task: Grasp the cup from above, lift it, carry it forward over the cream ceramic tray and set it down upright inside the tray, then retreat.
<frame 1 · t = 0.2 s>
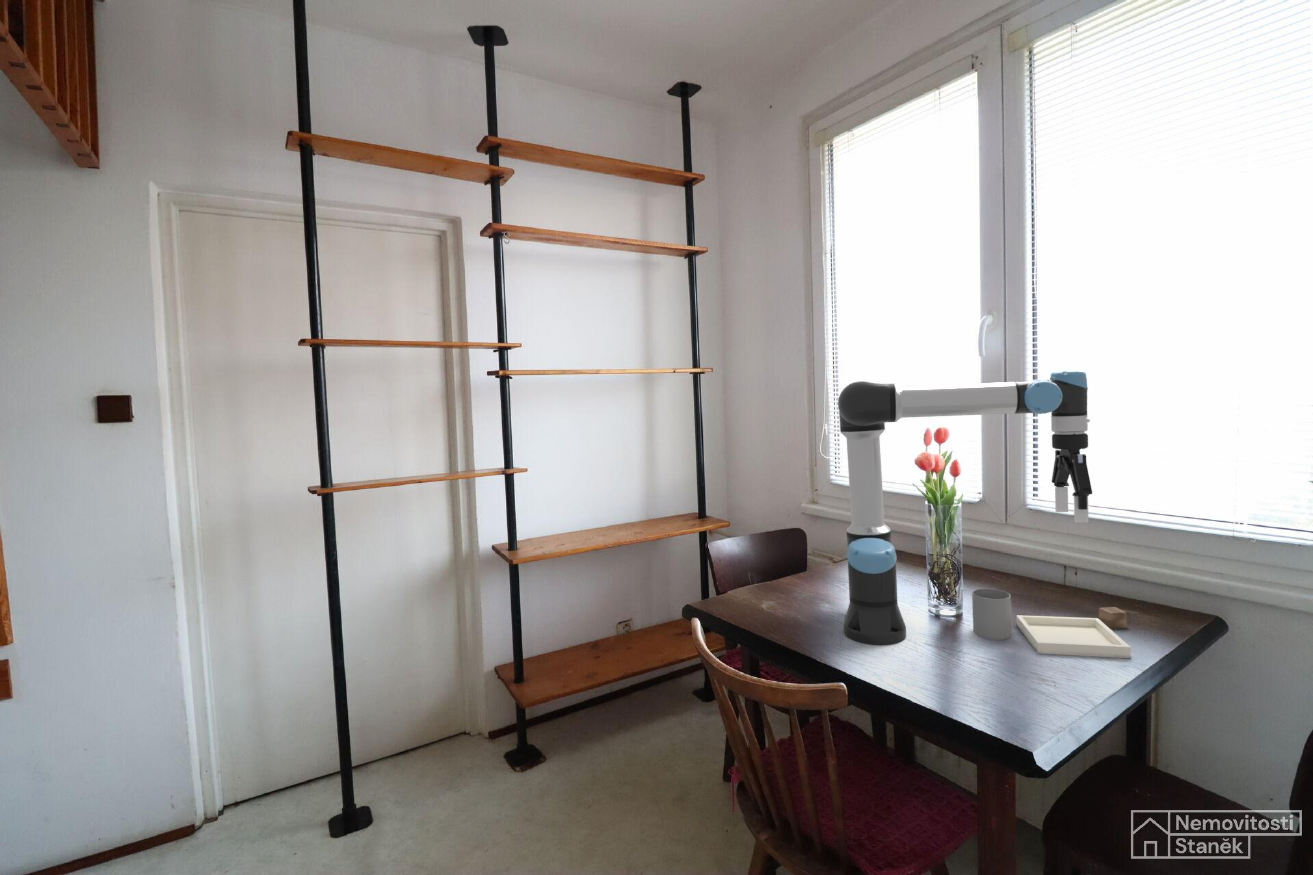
hand: (1071, 516, 155), 27 cm above the table, fingers open, 13 cm apart
cup: (992, 633, 154), on the table
walnut block: (1112, 625, 155), on the table
tray: (1069, 640, 147), on the table
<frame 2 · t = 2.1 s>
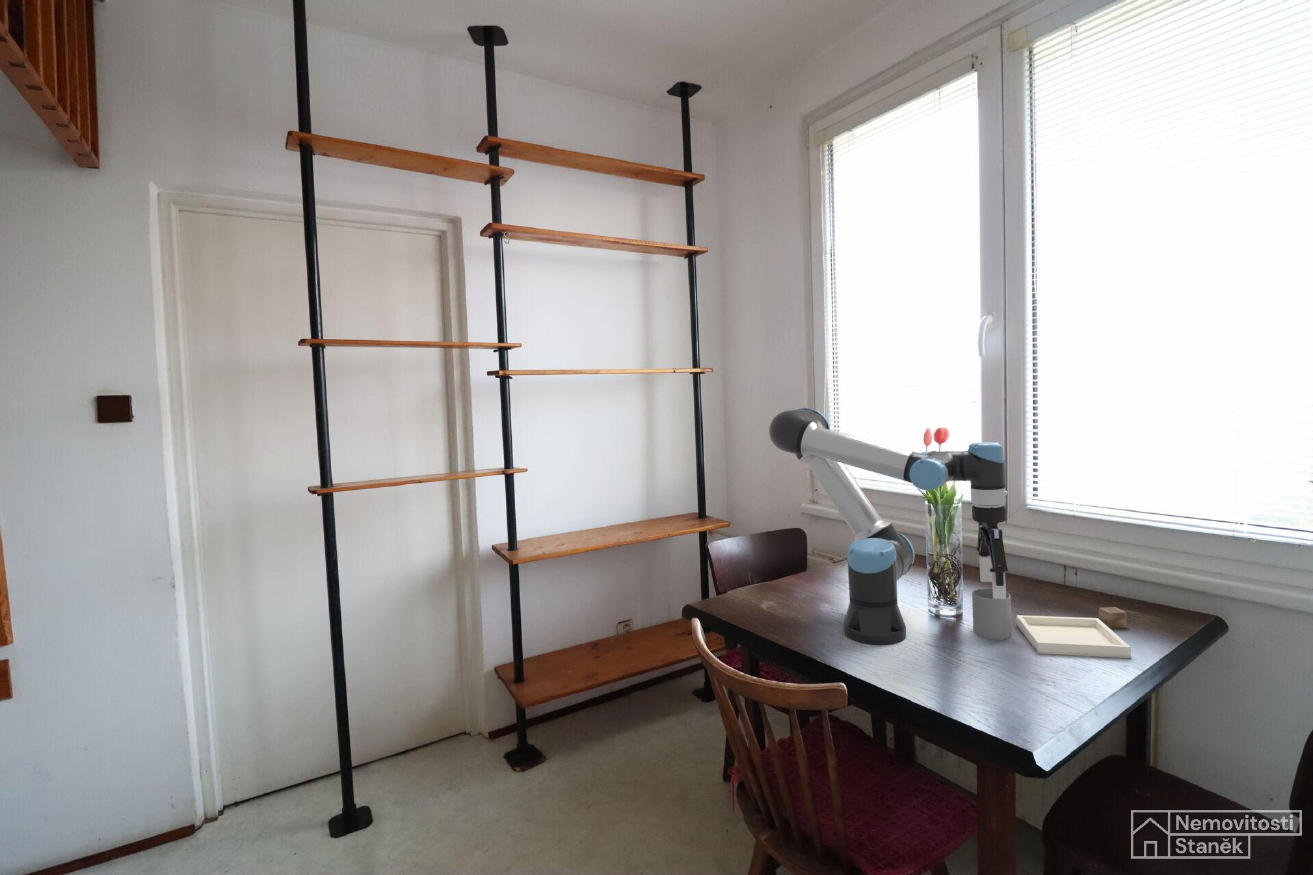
hand: (992, 589, 153), 11 cm above the table, fingers open, 13 cm apart
nothing on the table moved.
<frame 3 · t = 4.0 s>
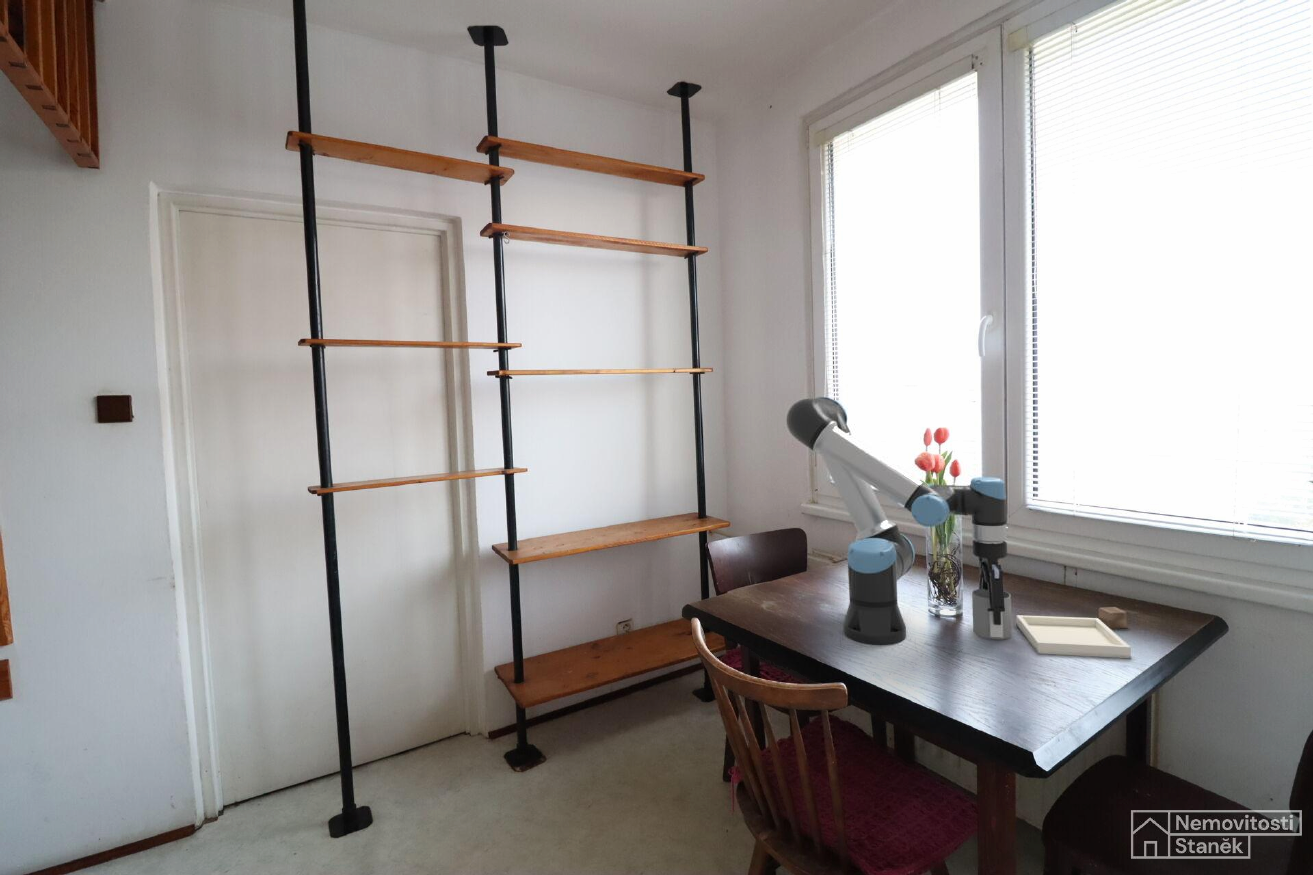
hand: (992, 629, 154), 1 cm above the table, fingers closed on cup, 8 cm apart
cup: (992, 633, 154), on the table, touching gripper
everything else where it was.
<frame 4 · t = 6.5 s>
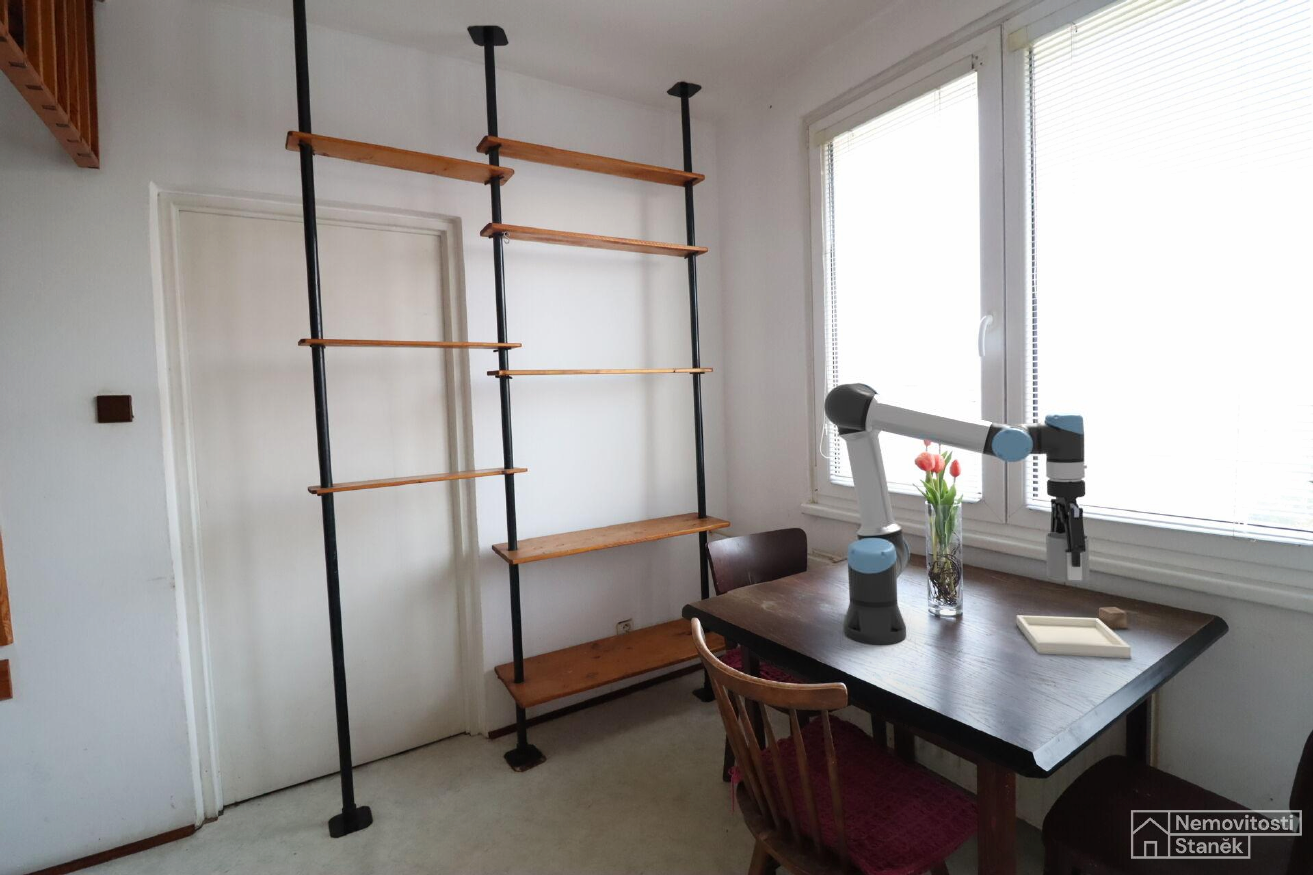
hand: (1067, 573, 146), 16 cm above the table, fingers closed on cup, 8 cm apart
cup: (1068, 578, 146), point 15 cm above the table, touching gripper
everything else where it was.
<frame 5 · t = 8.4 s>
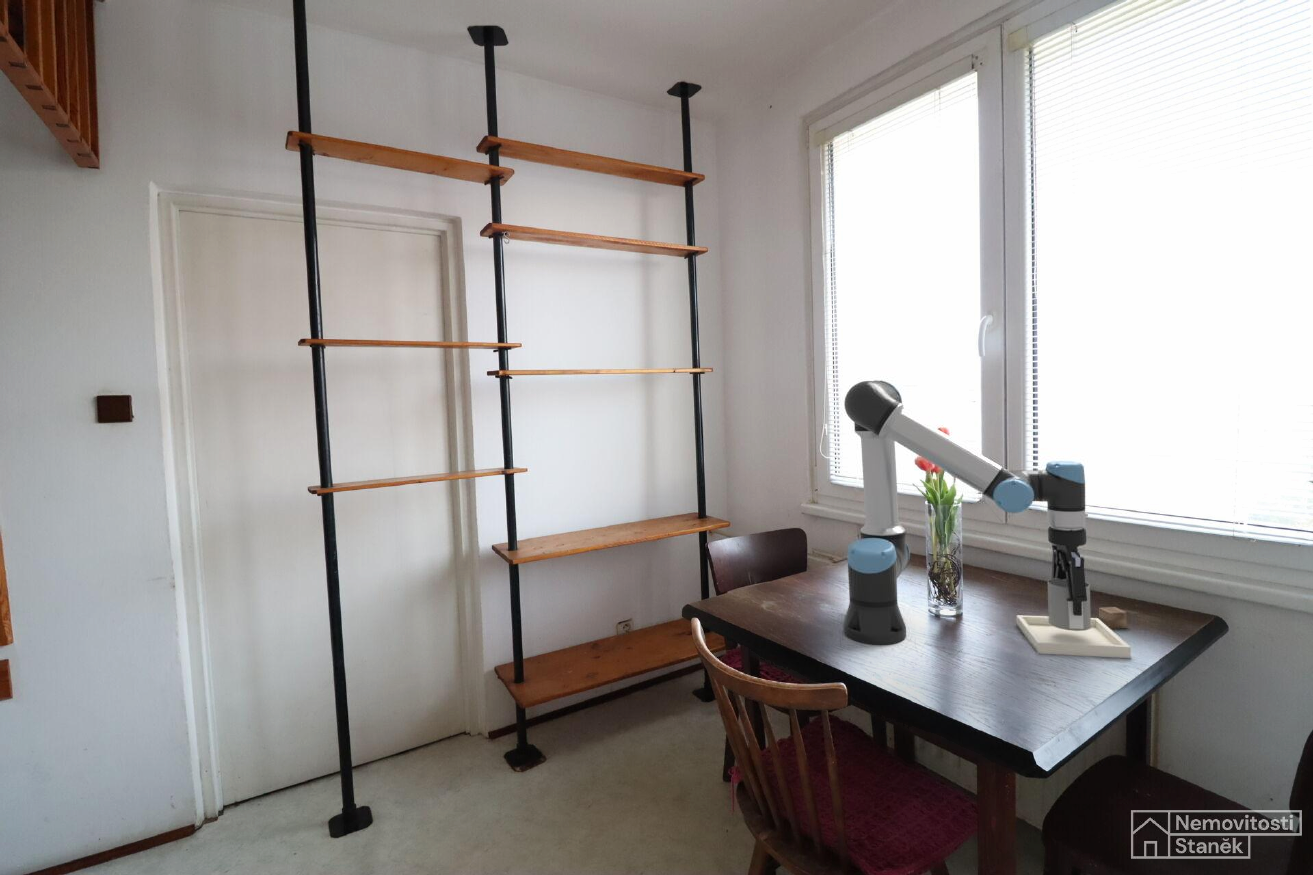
hand: (1069, 620, 147), 5 cm above the table, fingers closed on cup, 8 cm apart
cup: (1069, 625, 147), point 4 cm above the table, touching gripper
everything else where it was.
when the fingers open (4 cm above the table, at t = 9.5 s): cup drops 2 cm, resting on tray.
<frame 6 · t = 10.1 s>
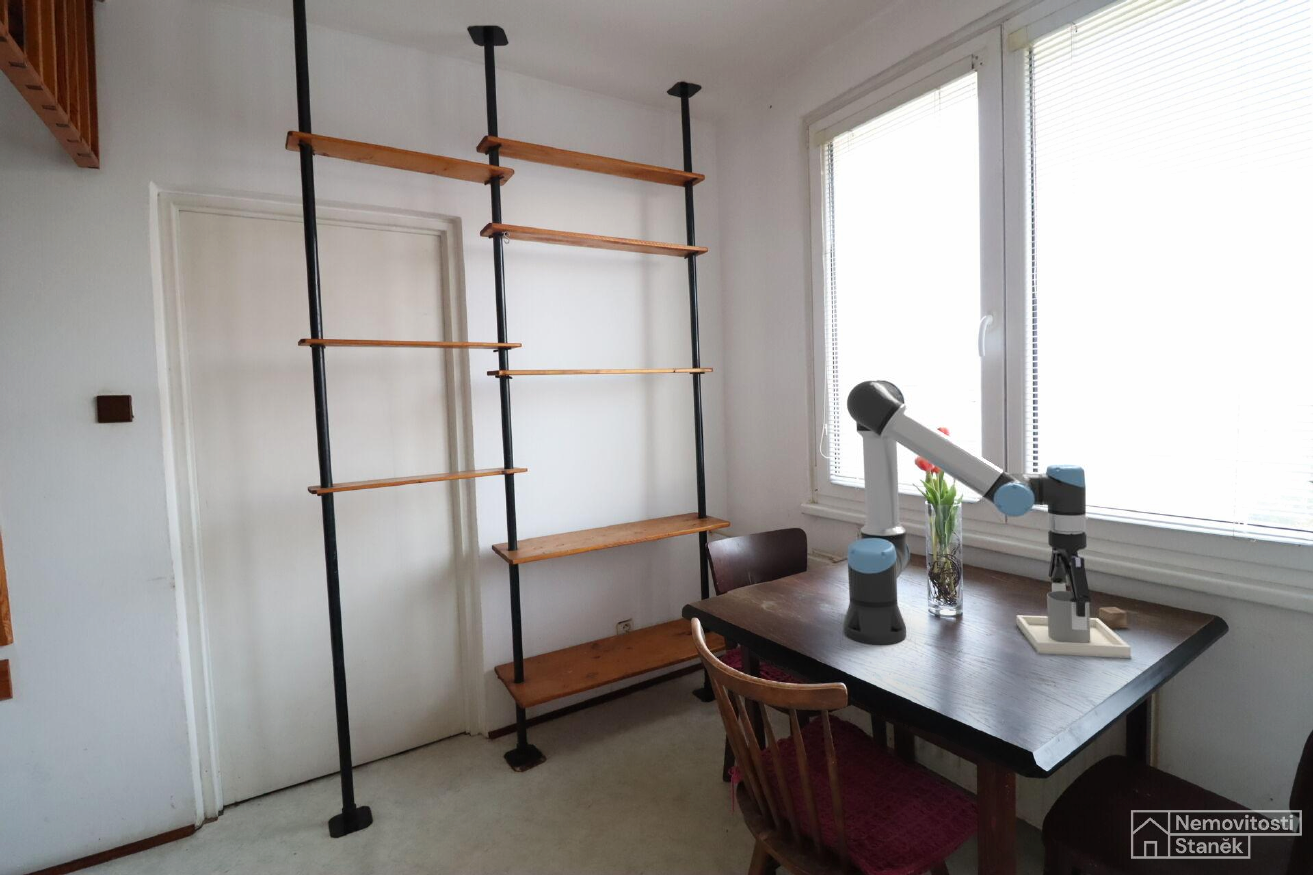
hand: (1068, 618, 147), 5 cm above the table, fingers open, 13 cm apart
cup: (1069, 638, 147), resting on tray
everything else where it was.
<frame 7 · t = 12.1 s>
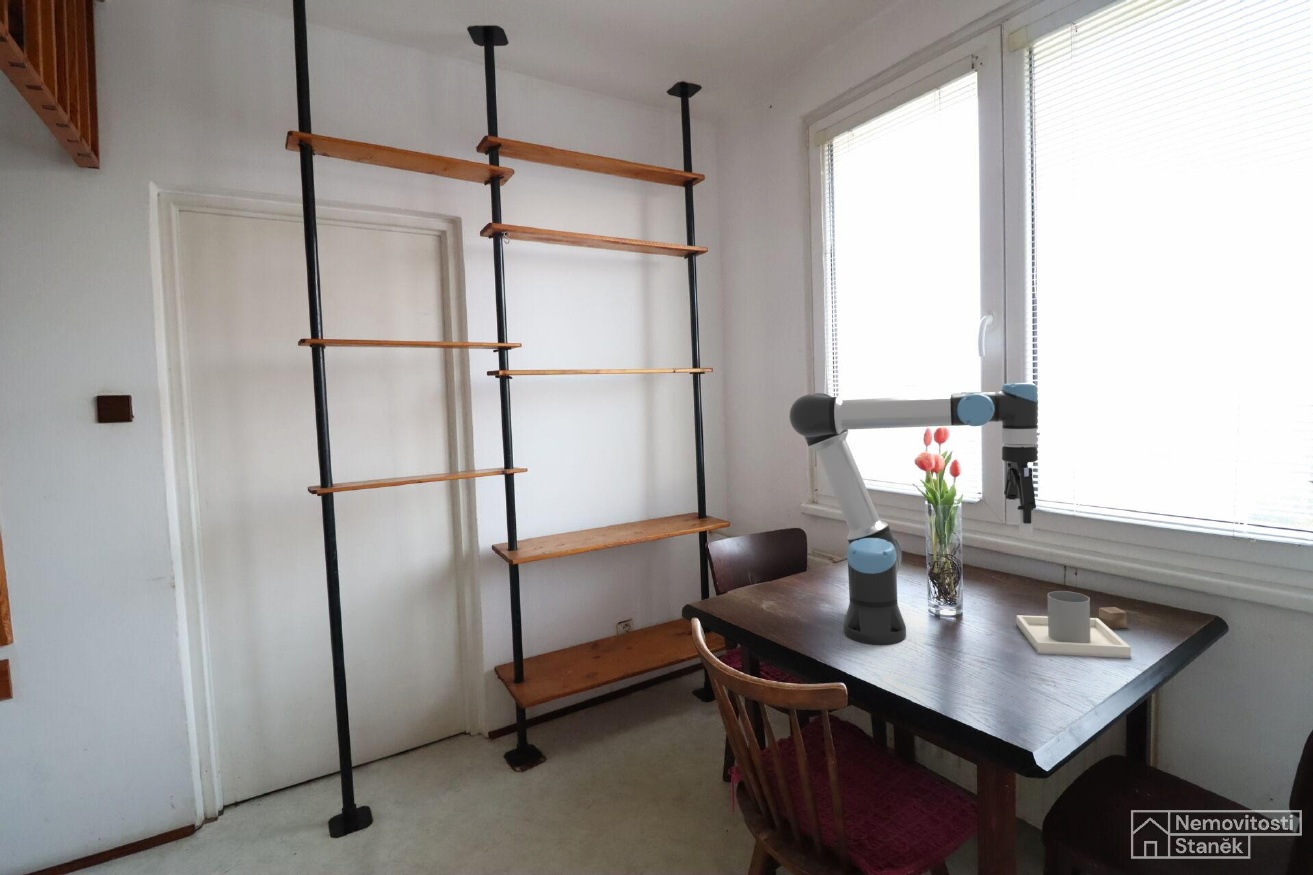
hand: (1018, 530, 154), 25 cm above the table, fingers open, 13 cm apart
nothing on the table moved.
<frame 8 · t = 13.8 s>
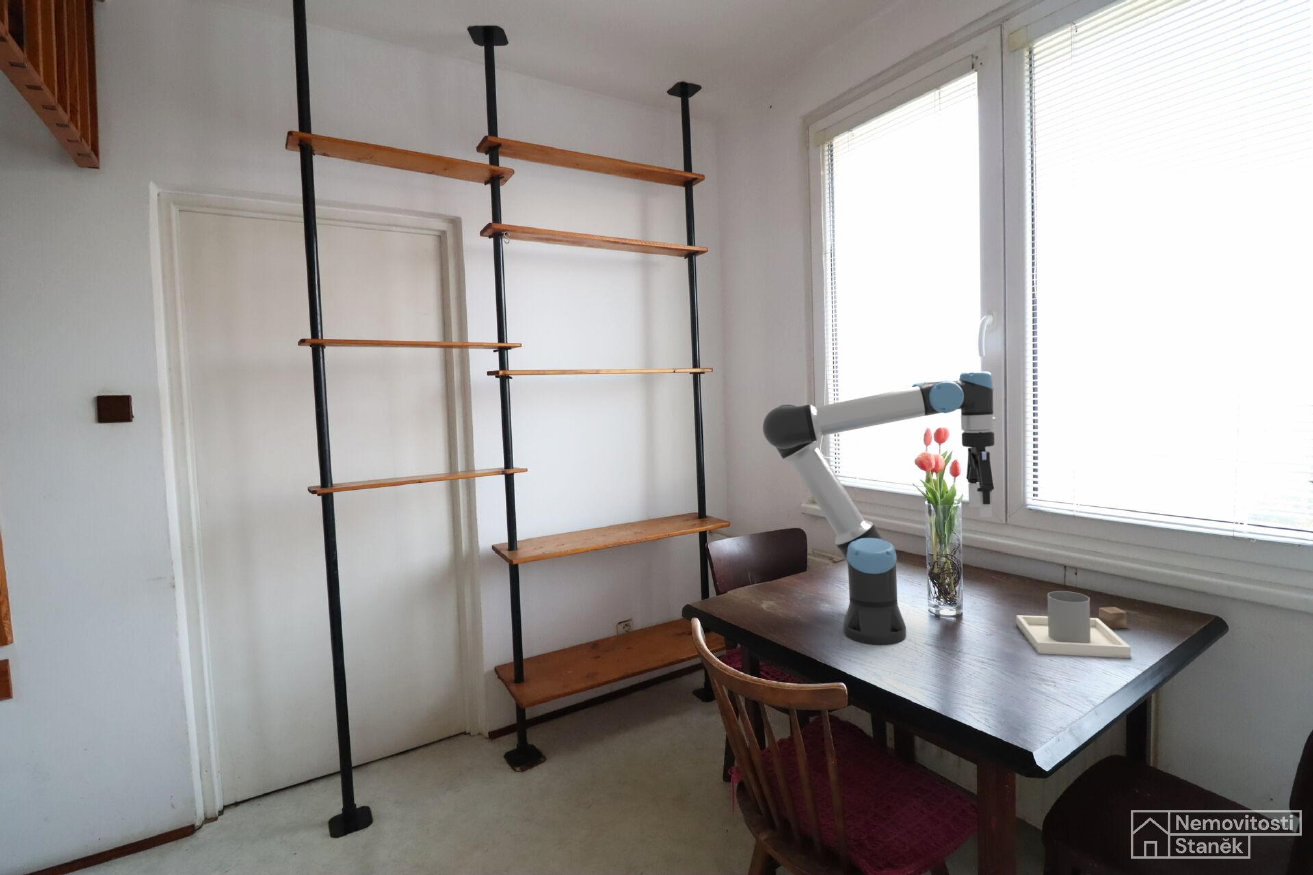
hand: (980, 511, 162), 29 cm above the table, fingers open, 13 cm apart
nothing on the table moved.
at the end: cup inside the target area on the tray (0.0 cm from its centre), point 0.4 cm above the tray's base; cup tilted 0°; the gripper is holding nothing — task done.
